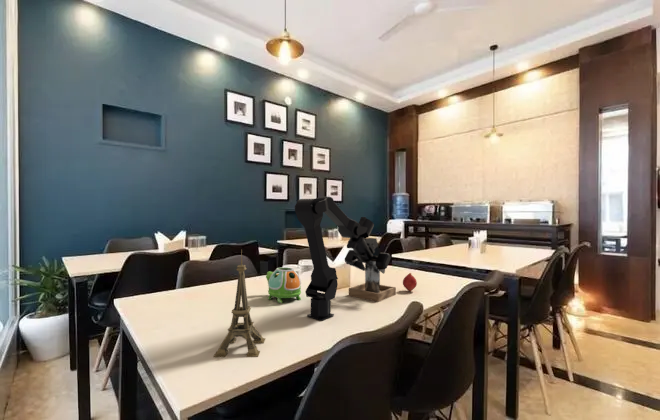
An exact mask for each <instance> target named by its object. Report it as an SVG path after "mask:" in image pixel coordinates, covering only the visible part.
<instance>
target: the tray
mask: <svg viewBox="0 0 660 420" xmlns="http://www.w3.org/2000/svg"><path fill="white" fill-rule="evenodd" d="M396 295H397V288H396V286H391V285H383V284H380V292H379V293H374V292H369V291H365V282H364V283H361V284H358V285H355V286H351V287H349V288H348V296H350V297H353V298H357V299H362V300H368V301H373V302H377V303H380V302H382V301H384V300H386V299H389V298H391V297H393V296H396Z"/></svg>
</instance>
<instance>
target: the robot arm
mask: <svg viewBox="0 0 660 420" xmlns="http://www.w3.org/2000/svg"><path fill="white" fill-rule="evenodd" d="M294 212H295V214H296V218H297V220H298V221H299V222H300V224H301V225H302V227H304V231H305V235H306V240H307V245H308V249H309V253H310V258H311V259H310V260H311V262H312V268H313V269H312V271H311V273H310V274H311V275H310V283H309V284H308V286H307V288H306V289H305V295H306V297H307V298H310V313H309V314H307V315H306V317H308V318H311V319H315V320H318V321H324V320H327V319H329V318H332V317H334V316H335V314H334V313H331V307H332V306H331V305H332V304H331V302H332V300H333V299H336V294H337V290H338V286H339V285H338V279H339V278H338V275H337V269H336V268H335V267H330V265H329V262H328V257H327V256H328V255H327V252H326V247H325V243H324V242H325V241H324V237H323V233H322V232H323V231H322V228H321V223H322V221H323V217H324V214H325V215H326V216H327V217H328V218H329V219H330V220H331V222H333V223H334V224H335V225H336V226H337V231H338V233H339V235H340V236H341V237H342V238H346V239H348V241H347V244H346V249H348V251H347V253H346V255H345V258H344V262H345V264H346V265H349V266H351V267H354V268H356V269H359V270H360V271H364V272H365V263H369V261H375V262H376V267H377V269H378V270H379V271H380V273H382V274H385V272H386V269H387V268H388V266H389V264H390V261H391V258H392V257H391V254H390V253H387V252H379V253H378V255H376V254H375V253H376V248H378V246H379V245H378V243H379V242H378V239H377V238H376V237H375V238H373V237H370V234H371V233H372V231H373V229H374V226H375V224H374V222H373V221H372V220H371V219H369V218H367V217H366V216H361V217H360V219H359V221H358V222H357V221H356V220H355V219H352V218H350V217H348V216H347V214H346V213H345V212H344V211H343V210H342V209H341V208H340V207H339V205H337V203H336V202H335V200H334V198H333V197H331V196H319V197H316V198H300V199H298V200H297V201H296V203H295V205H294ZM374 254H375V255H374Z"/></svg>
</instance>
